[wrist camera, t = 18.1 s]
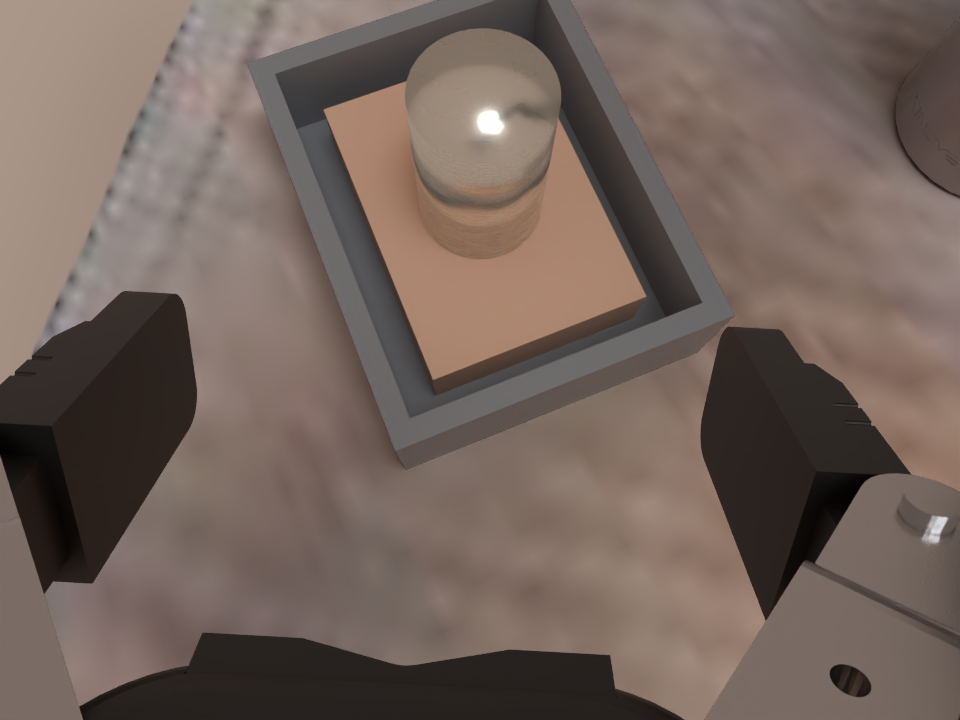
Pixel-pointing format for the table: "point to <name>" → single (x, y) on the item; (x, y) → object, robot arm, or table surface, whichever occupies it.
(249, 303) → the table surface
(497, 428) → the tote
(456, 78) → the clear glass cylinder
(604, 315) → the flat box
